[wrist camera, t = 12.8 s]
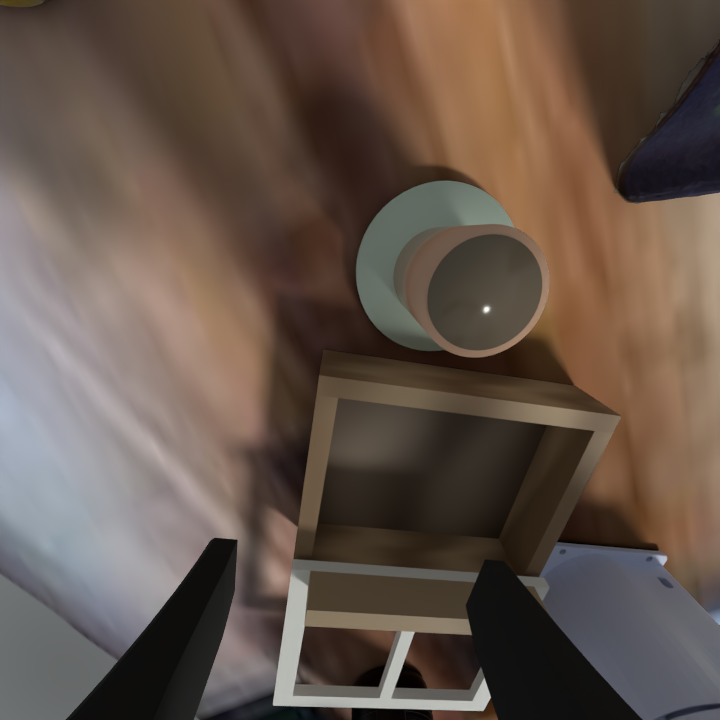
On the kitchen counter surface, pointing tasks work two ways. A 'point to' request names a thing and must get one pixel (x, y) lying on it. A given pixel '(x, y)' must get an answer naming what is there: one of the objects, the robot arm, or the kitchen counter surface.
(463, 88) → the kitchen counter surface
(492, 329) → the brown cylinder
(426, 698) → the frame
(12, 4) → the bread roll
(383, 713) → the supplement bottle
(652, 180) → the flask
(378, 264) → the saucer
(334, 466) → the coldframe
